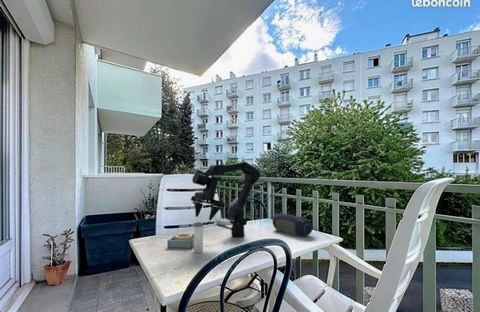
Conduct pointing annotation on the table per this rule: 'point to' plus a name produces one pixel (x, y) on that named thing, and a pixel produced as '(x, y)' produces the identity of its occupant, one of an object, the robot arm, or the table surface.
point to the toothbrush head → (223, 222)
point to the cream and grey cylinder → (198, 237)
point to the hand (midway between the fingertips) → (203, 218)
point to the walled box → (181, 241)
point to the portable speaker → (292, 224)
